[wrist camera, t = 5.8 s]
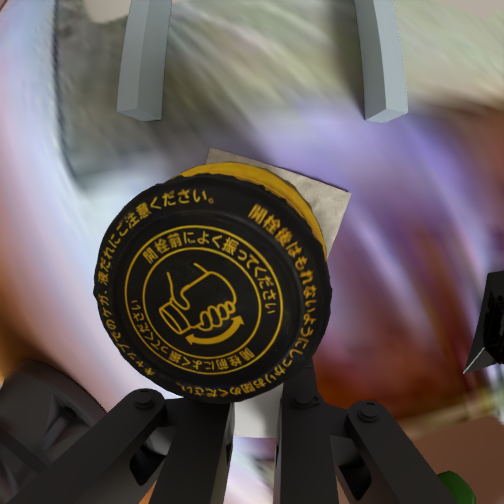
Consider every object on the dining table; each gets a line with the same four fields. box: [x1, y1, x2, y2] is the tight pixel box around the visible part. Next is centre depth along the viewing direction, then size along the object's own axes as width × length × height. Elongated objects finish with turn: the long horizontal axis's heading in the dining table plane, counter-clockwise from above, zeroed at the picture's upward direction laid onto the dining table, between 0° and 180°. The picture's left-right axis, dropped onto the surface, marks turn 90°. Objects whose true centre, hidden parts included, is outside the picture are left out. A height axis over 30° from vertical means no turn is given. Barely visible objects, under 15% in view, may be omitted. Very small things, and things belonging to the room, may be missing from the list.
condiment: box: [93, 147, 351, 404], centre depth 11 cm, size 7×8×12 cm
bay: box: [117, 0, 408, 123], centre depth 12 cm, size 14×14×4 cm
